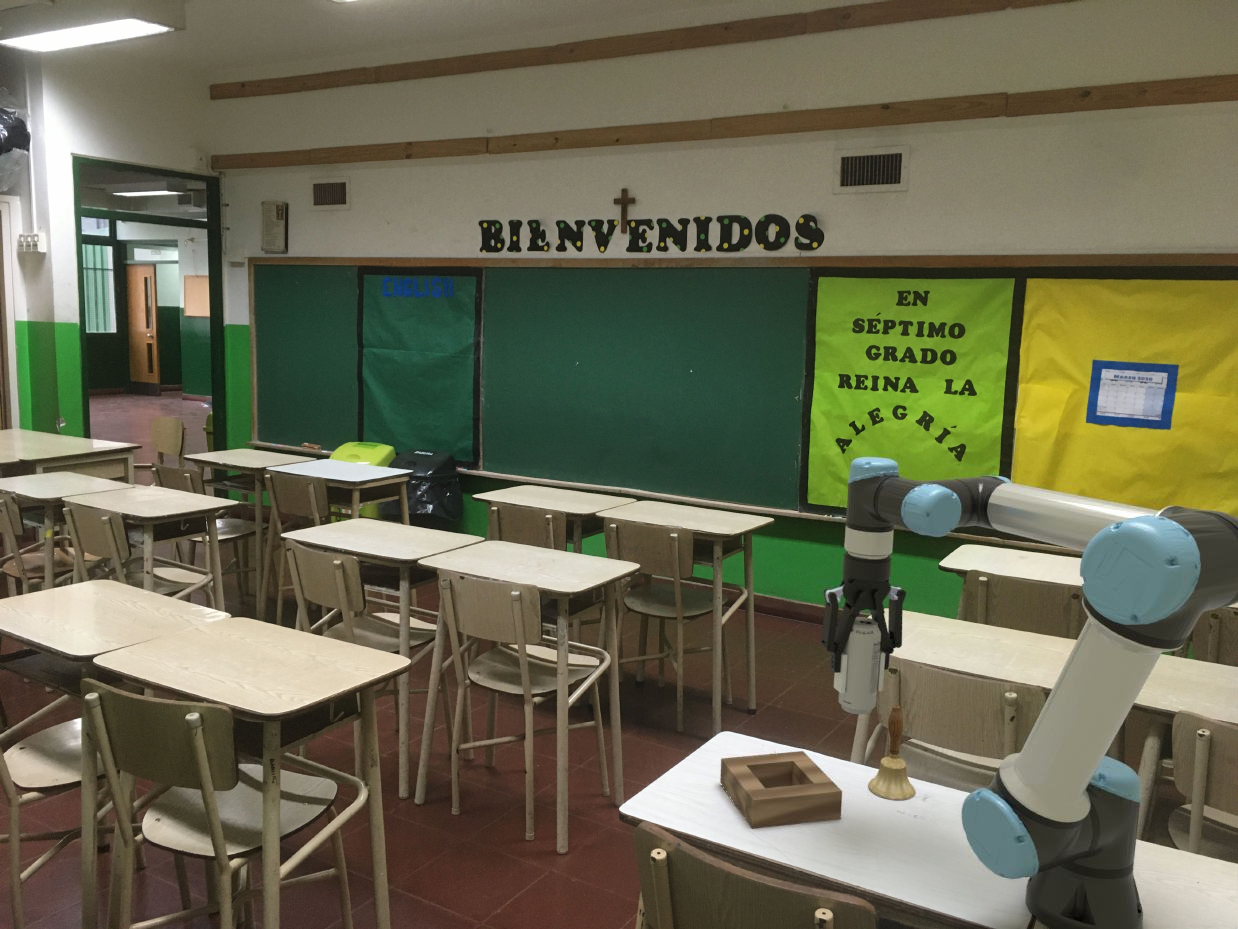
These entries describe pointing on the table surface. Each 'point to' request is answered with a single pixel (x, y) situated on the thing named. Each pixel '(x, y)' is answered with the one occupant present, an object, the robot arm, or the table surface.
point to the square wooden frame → (780, 789)
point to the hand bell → (893, 765)
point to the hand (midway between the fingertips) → (858, 688)
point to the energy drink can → (861, 667)
